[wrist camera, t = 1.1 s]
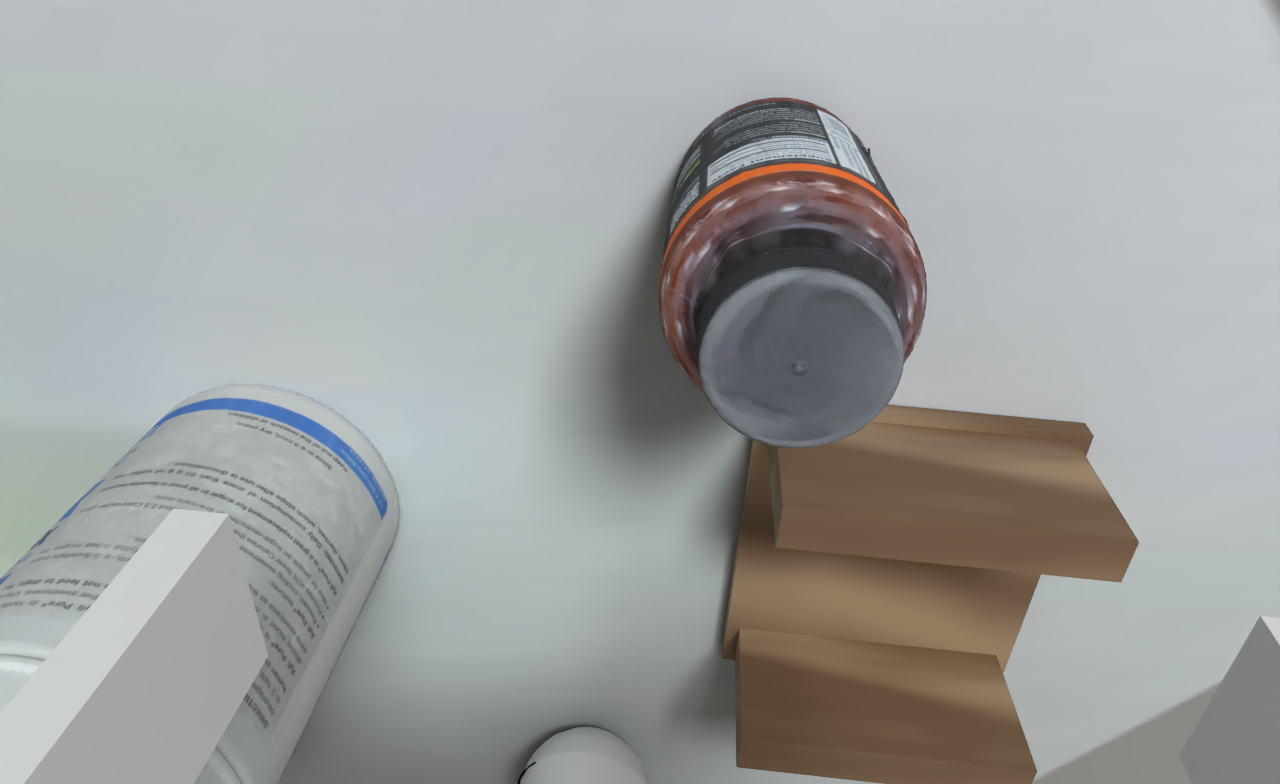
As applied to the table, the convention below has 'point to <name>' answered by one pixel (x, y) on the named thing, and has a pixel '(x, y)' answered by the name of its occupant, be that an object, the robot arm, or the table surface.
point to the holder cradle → (905, 591)
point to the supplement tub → (266, 537)
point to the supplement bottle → (789, 275)
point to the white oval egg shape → (584, 760)
